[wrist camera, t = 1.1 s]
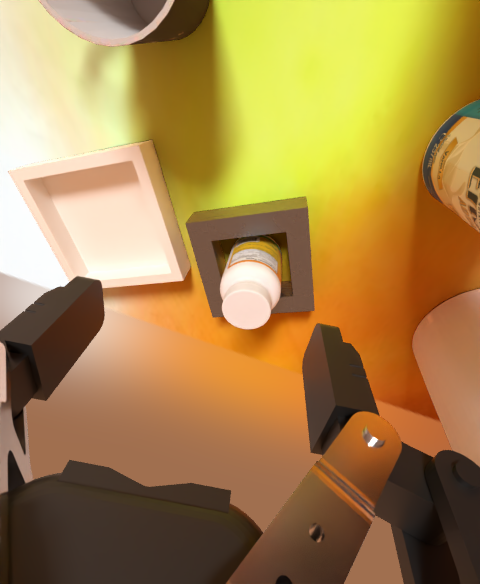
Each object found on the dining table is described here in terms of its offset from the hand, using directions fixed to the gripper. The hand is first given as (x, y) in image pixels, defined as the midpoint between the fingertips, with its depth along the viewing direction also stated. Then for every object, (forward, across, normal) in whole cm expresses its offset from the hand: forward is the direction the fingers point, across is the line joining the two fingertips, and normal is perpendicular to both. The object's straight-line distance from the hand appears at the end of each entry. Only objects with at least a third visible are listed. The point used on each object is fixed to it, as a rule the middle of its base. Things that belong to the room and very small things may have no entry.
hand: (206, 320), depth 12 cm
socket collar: (+21, -2, +7) cm, 22 cm away
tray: (+21, +13, +6) cm, 25 cm away
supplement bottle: (+21, -2, +7) cm, 22 cm away
